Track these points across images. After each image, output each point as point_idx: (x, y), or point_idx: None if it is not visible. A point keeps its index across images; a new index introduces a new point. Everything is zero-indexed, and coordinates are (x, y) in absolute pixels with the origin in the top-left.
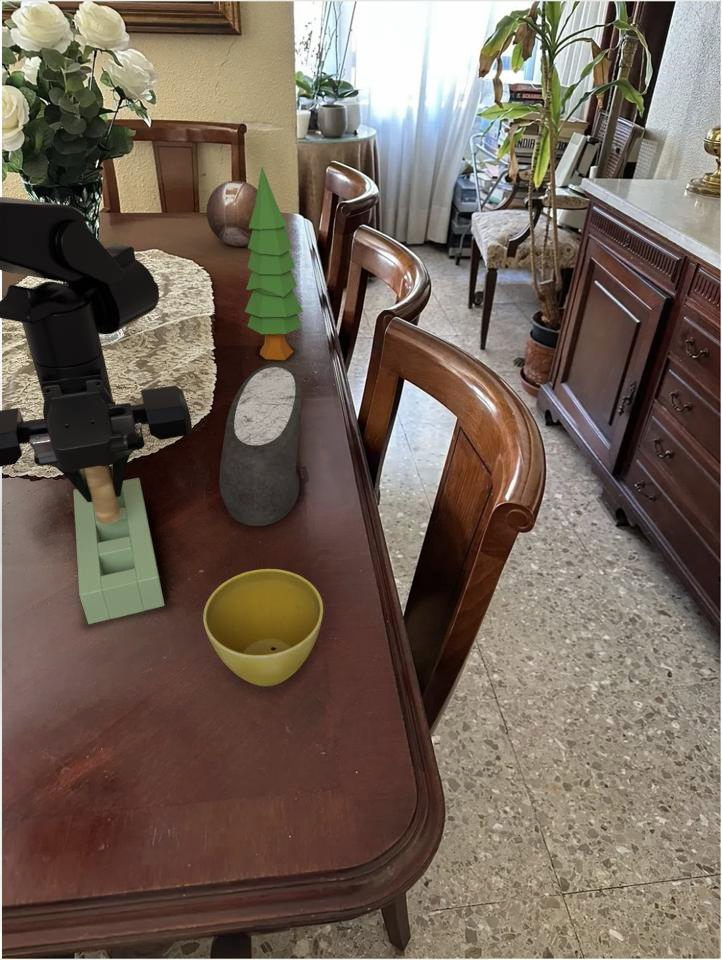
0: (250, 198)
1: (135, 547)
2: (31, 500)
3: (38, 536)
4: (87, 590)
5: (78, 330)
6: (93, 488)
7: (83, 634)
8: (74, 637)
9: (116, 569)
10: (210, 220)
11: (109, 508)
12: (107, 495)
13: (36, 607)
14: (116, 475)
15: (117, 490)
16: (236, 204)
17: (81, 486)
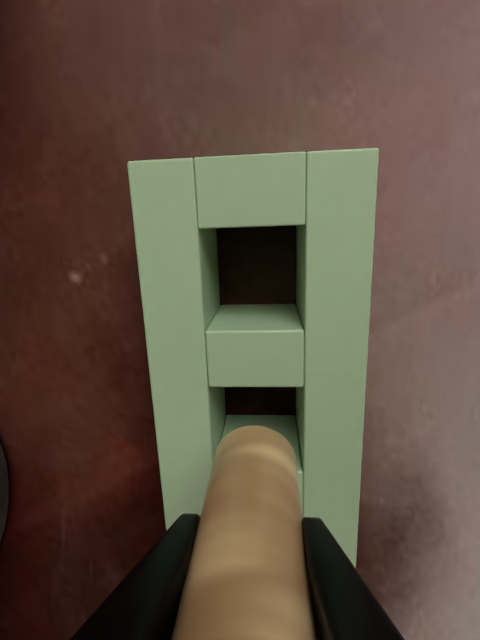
0: None
1: (193, 328)
2: (436, 629)
3: (434, 512)
4: (351, 165)
5: None
6: (282, 576)
7: (364, 137)
8: (386, 133)
9: (264, 311)
10: None
11: (237, 467)
12: (225, 520)
13: (464, 274)
14: (126, 632)
15: (176, 538)
16: None
17: (349, 608)
